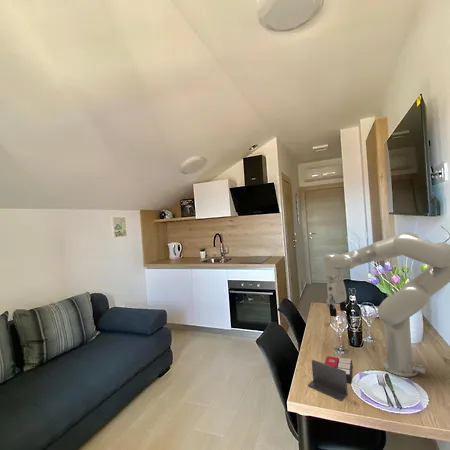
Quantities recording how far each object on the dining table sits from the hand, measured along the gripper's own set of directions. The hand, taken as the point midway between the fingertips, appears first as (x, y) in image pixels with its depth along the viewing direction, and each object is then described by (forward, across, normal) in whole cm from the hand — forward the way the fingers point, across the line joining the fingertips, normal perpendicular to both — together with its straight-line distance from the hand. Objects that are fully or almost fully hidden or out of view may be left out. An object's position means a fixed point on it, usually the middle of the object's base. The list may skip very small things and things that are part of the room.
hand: (338, 313), depth 135 cm
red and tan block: (+21, -15, -6) cm, 27 cm away
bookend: (+21, -30, -9) cm, 38 cm away
